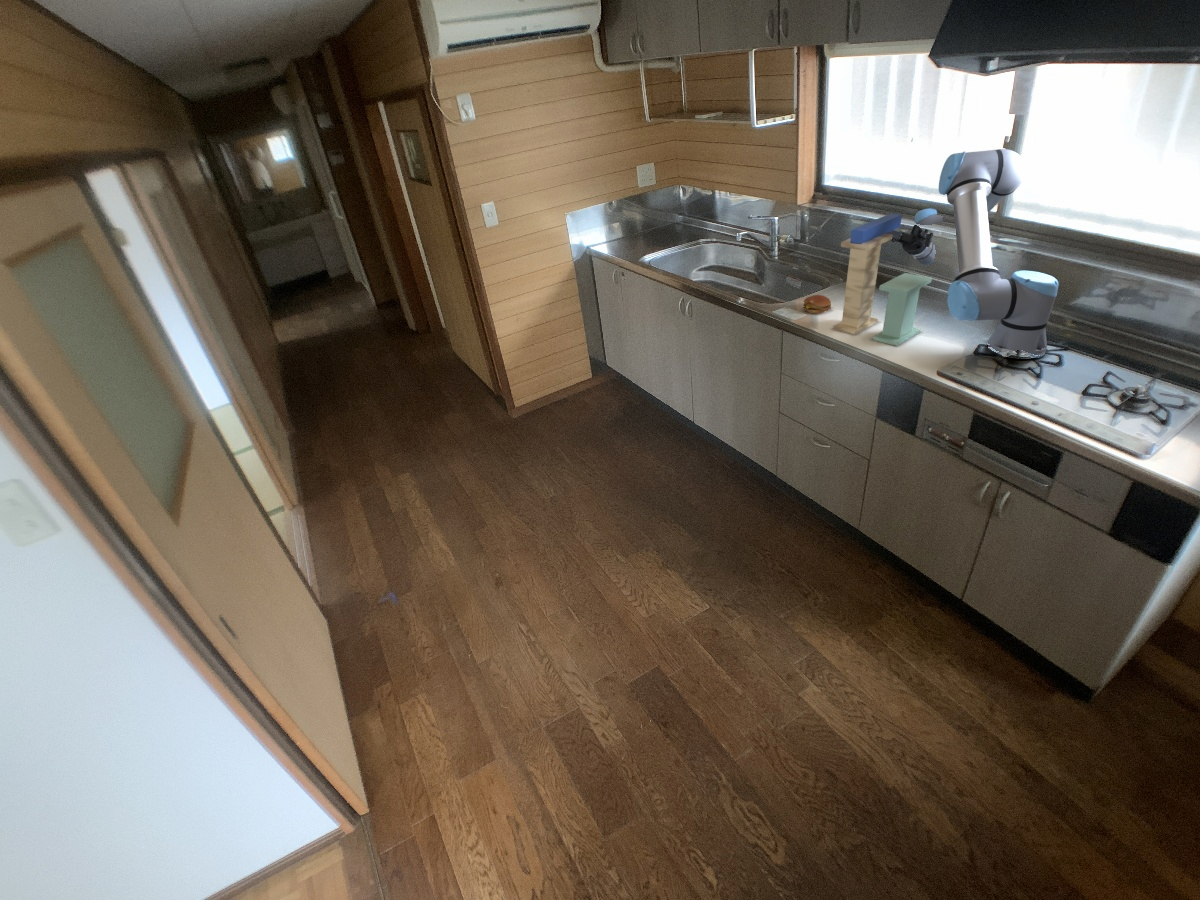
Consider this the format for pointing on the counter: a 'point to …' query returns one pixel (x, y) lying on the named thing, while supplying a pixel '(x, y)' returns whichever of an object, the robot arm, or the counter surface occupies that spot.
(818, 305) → the burger
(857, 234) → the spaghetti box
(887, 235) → the tall pedestal
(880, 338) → the low pedestal
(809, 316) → the counter surface
